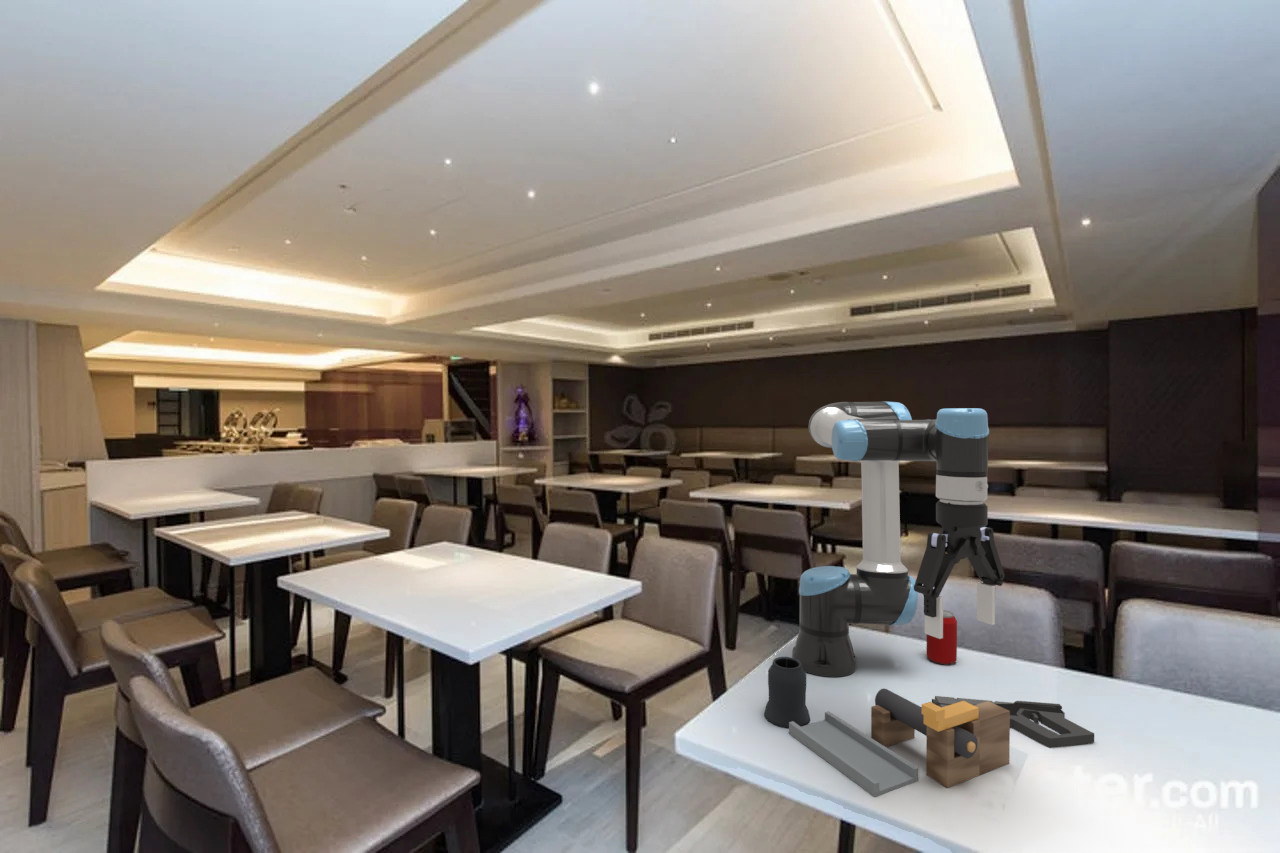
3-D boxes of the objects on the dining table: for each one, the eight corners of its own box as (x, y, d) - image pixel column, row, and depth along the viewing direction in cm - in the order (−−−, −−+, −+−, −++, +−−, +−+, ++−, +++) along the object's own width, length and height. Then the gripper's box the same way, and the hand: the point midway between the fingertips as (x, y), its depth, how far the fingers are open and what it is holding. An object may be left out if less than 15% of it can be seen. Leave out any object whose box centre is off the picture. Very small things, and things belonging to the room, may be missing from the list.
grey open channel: (788, 733, 114) (788, 722, 114) (828, 721, 118) (828, 711, 118) (874, 796, 95) (874, 783, 95) (918, 780, 99) (918, 767, 99)
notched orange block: (921, 724, 99) (921, 704, 99) (963, 710, 103) (963, 691, 103) (936, 732, 96) (936, 711, 96) (978, 718, 101) (978, 698, 101)
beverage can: (946, 654, 151) (946, 607, 151) (962, 665, 144) (963, 616, 144) (921, 655, 150) (921, 608, 150) (935, 666, 144) (936, 617, 143)
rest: (871, 739, 111) (871, 706, 111) (901, 730, 115) (901, 697, 115) (883, 747, 109) (884, 713, 108) (914, 737, 112) (914, 704, 112)
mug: (811, 731, 114) (812, 673, 114) (763, 726, 116) (763, 669, 116) (807, 702, 126) (808, 649, 126) (764, 697, 128) (764, 646, 128)
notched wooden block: (926, 774, 100) (926, 720, 100) (987, 751, 107) (987, 701, 107) (947, 788, 97) (947, 732, 97) (1009, 763, 104) (1009, 710, 103)
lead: (872, 710, 113) (872, 689, 113) (887, 705, 115) (888, 685, 115) (964, 762, 96) (964, 738, 96) (980, 756, 98) (980, 732, 98)
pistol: (1105, 743, 107) (1063, 703, 121) (951, 728, 112) (929, 692, 126) (1105, 756, 107) (1063, 714, 121) (951, 740, 112) (929, 702, 126)
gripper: (932, 509, 89) (931, 650, 89) (1028, 499, 100) (1027, 623, 100) (890, 503, 95) (889, 634, 95) (985, 494, 107) (984, 610, 107)
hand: (960, 629), depth 98 cm, fingers open, 13 cm apart
